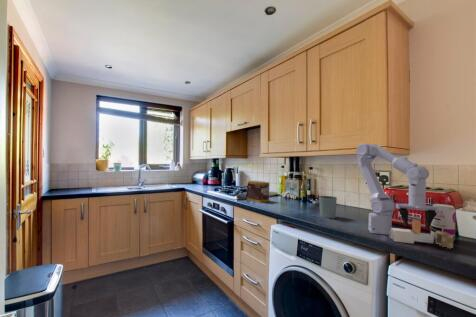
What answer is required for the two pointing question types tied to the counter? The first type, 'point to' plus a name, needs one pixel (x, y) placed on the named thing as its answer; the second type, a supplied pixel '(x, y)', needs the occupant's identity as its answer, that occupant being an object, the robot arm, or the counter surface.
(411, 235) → the white rectangular block
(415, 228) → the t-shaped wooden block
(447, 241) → the oak socket
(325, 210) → the grey tapered cup
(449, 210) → the supplement can
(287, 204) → the counter surface
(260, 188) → the supplement box
